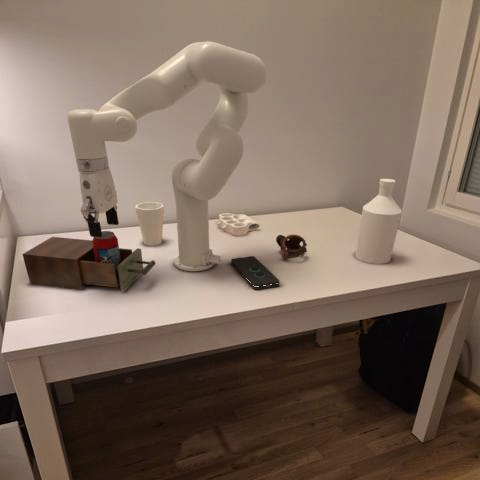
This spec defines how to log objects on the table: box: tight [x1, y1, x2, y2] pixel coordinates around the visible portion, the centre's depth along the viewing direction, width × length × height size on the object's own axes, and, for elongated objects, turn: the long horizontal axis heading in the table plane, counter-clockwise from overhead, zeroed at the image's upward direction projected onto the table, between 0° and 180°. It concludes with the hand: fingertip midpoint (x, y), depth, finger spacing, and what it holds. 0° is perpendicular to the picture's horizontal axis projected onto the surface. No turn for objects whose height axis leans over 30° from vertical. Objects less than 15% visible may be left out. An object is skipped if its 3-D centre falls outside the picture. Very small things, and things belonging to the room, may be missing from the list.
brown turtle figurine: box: [275, 234, 308, 261], centre depth 139 cm, size 12×10×8 cm
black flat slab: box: [230, 255, 280, 291], centre depth 126 cm, size 8×2×20 cm
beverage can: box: [92, 230, 121, 276], centre depth 117 cm, size 7×7×12 cm
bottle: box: [355, 178, 403, 265], centre depth 134 cm, size 12×12×25 cm
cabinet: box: [21, 236, 94, 290], centre depth 121 cm, size 16×14×9 cm
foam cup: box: [135, 201, 165, 247], centre depth 145 cm, size 10×9×13 cm
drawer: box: [78, 247, 156, 291], centre depth 119 cm, size 20×13×7 cm, turn 79°
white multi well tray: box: [215, 212, 261, 237], centre depth 163 cm, size 3×18×15 cm
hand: (105, 230), depth 114 cm, fingers open, 9 cm apart
